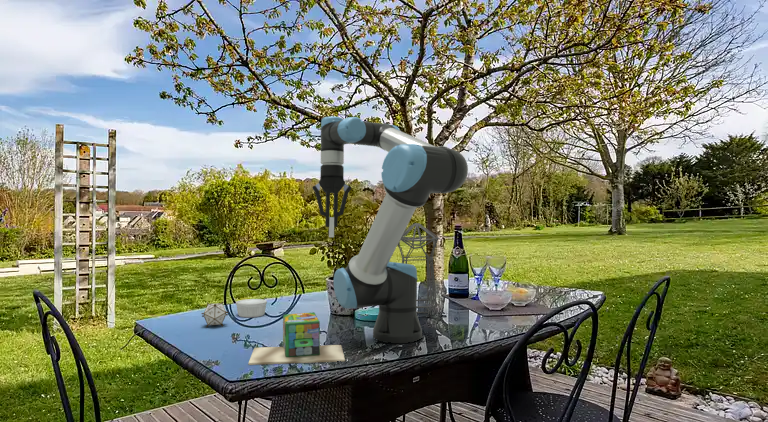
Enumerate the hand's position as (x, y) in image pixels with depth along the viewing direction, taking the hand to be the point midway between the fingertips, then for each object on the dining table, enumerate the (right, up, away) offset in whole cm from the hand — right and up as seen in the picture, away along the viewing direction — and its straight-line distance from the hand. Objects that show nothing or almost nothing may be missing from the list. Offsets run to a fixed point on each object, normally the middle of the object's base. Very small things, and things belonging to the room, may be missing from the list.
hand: (331, 237), depth 158 cm
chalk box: (-7, -25, -21) cm, 33 cm away
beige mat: (-6, -30, -29) cm, 42 cm away
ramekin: (-32, -31, +22) cm, 49 cm away
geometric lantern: (+29, -31, +24) cm, 49 cm away
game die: (-39, -30, +3) cm, 50 cm away
